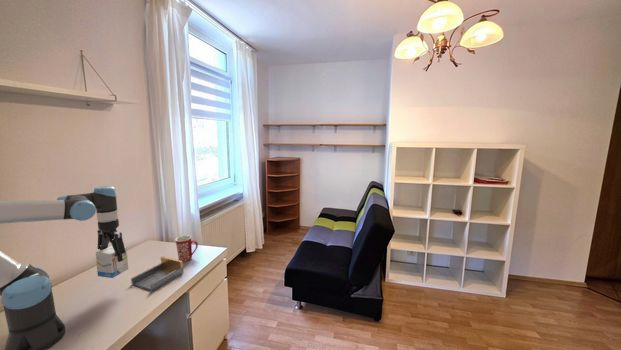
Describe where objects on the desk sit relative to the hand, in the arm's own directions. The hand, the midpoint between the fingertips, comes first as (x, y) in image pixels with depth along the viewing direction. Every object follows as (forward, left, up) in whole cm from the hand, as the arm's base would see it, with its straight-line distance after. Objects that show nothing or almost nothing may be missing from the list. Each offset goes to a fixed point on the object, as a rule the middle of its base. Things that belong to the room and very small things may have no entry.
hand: (112, 265), depth 119 cm
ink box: (0, 0, -4) cm, 4 cm away
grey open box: (+16, -7, -14) cm, 23 cm away
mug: (+38, -4, -15) cm, 41 cm away
